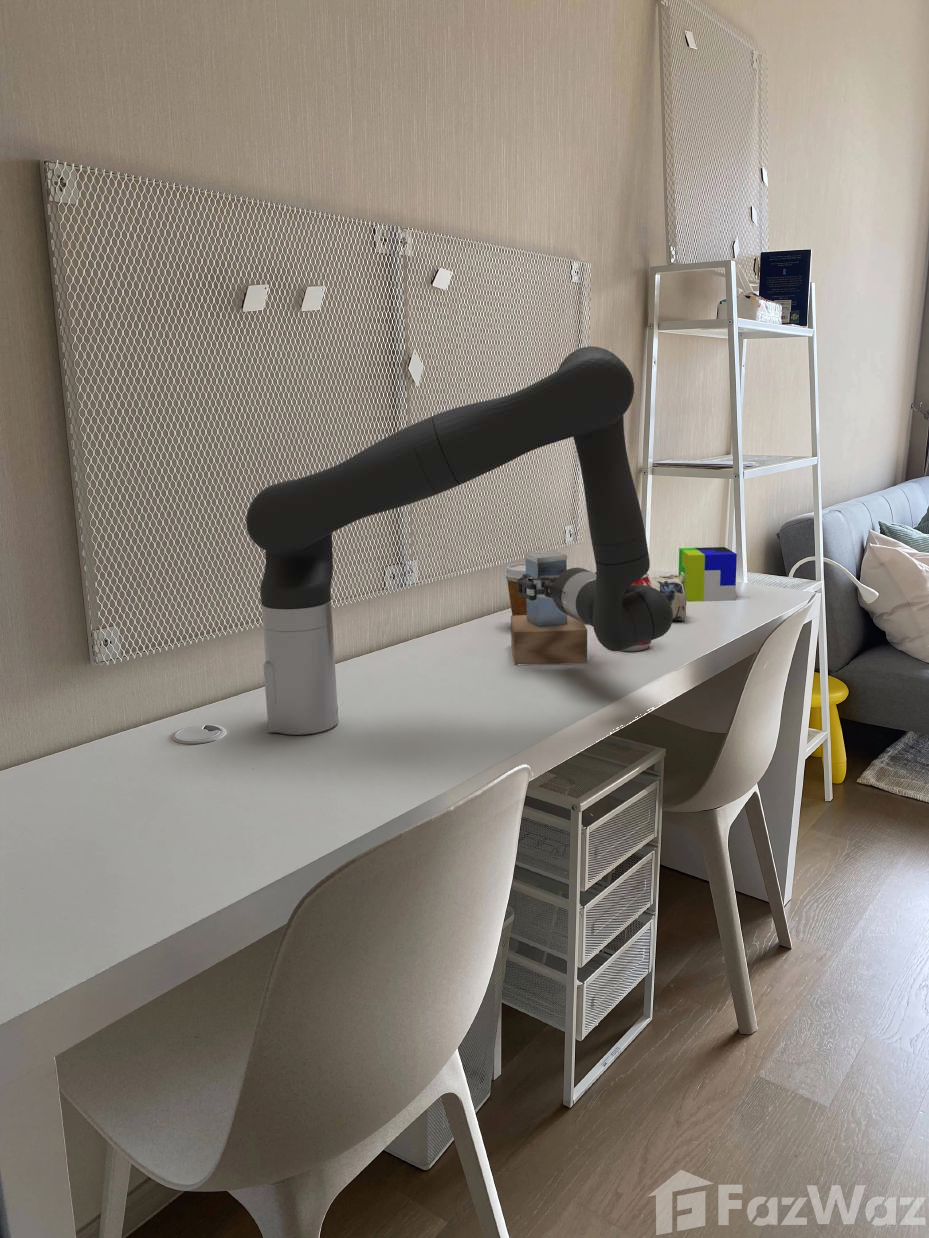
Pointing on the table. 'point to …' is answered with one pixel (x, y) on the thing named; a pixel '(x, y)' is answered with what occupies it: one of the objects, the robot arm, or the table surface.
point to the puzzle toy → (708, 573)
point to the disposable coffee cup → (516, 588)
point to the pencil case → (672, 593)
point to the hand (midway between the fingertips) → (548, 578)
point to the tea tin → (549, 565)
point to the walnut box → (548, 642)
